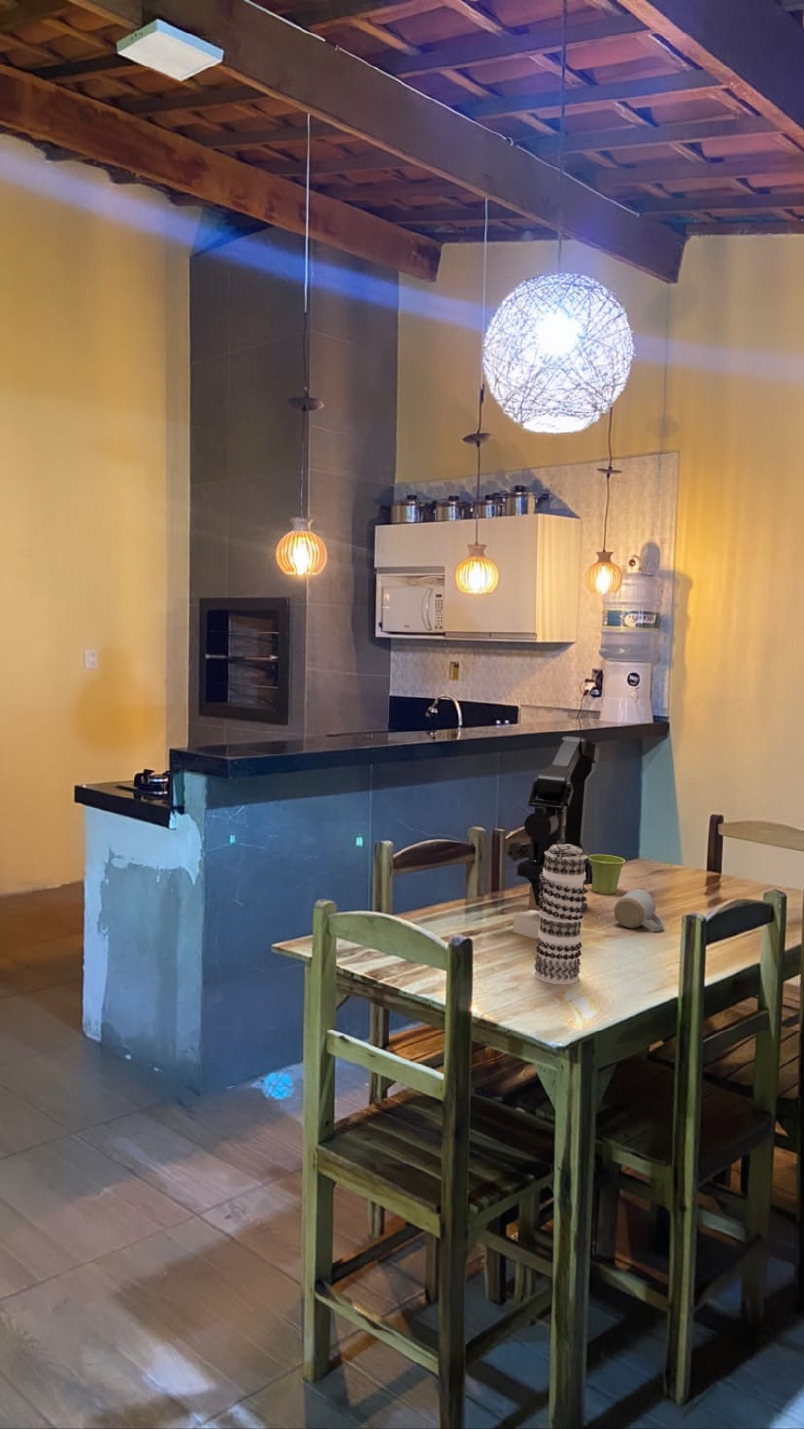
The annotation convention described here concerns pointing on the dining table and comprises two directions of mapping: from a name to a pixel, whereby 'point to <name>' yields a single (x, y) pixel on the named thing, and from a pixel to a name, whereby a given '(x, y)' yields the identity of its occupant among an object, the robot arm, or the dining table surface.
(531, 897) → the walnut cube
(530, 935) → the cream block
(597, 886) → the plant pot
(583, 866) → the decorative candle
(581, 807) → the robot arm
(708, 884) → the dining table surface
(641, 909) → the ceramic mug
